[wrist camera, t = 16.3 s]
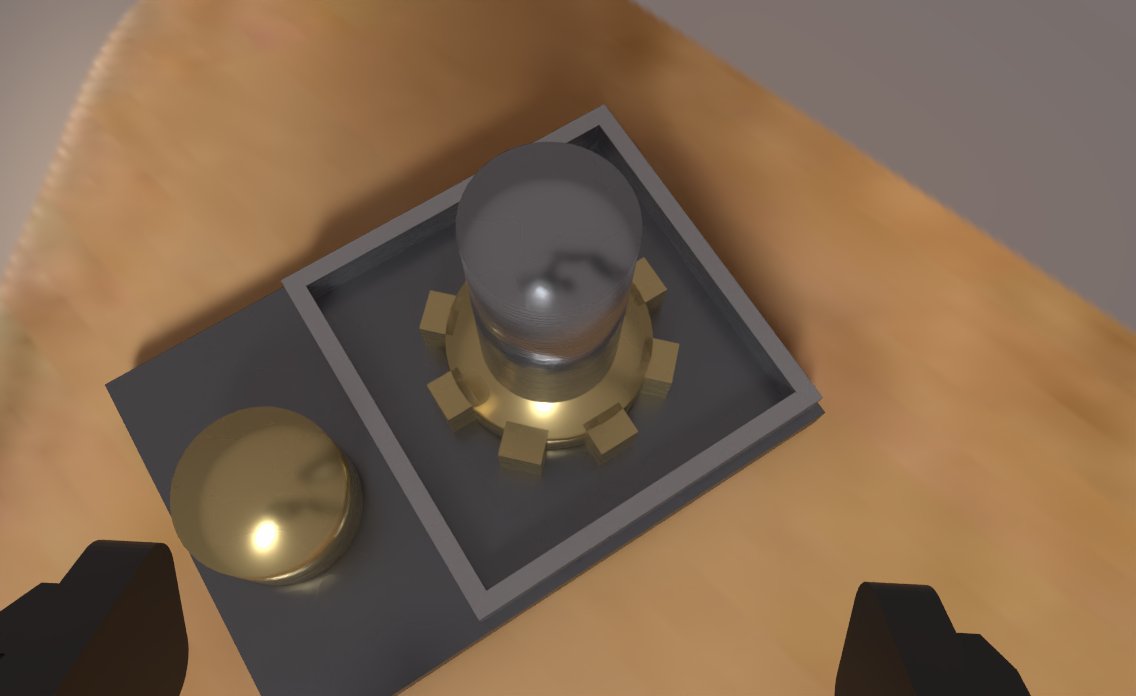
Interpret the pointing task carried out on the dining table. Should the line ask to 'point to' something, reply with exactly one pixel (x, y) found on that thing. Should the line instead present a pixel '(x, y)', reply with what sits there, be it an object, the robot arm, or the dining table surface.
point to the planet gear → (549, 308)
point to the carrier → (429, 449)
